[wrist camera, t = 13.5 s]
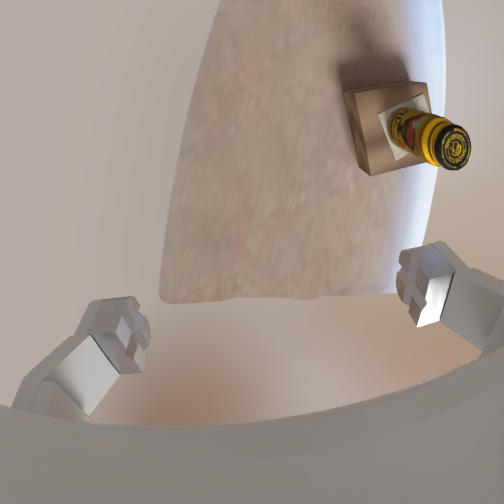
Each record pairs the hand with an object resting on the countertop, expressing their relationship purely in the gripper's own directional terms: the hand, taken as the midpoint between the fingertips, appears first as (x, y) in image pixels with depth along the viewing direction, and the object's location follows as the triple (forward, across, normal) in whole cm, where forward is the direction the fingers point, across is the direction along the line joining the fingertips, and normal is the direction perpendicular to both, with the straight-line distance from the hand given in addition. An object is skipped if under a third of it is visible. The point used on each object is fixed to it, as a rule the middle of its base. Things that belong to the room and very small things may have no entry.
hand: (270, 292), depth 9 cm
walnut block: (+36, -22, +2) cm, 42 cm away
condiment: (+31, -23, +2) cm, 39 cm away
